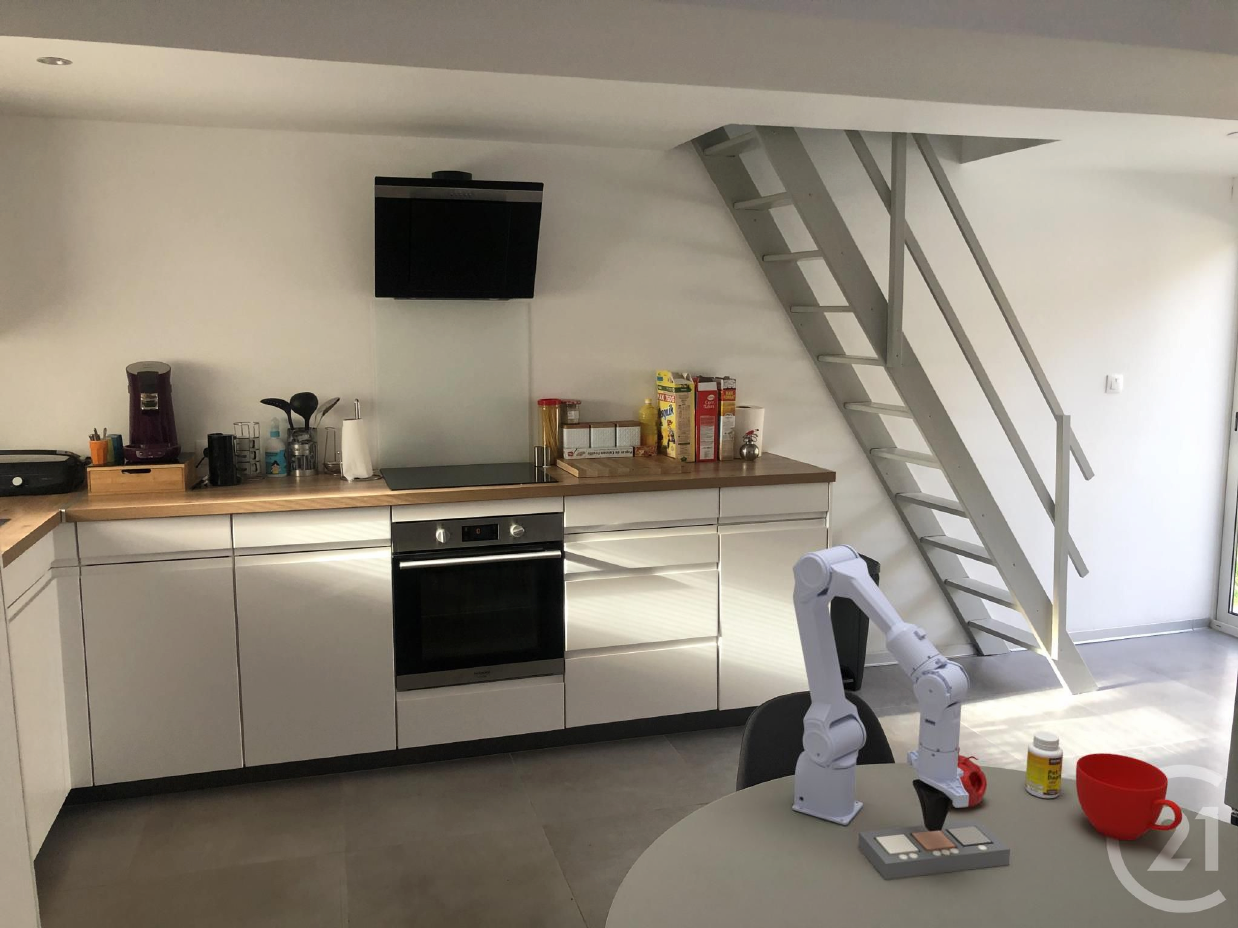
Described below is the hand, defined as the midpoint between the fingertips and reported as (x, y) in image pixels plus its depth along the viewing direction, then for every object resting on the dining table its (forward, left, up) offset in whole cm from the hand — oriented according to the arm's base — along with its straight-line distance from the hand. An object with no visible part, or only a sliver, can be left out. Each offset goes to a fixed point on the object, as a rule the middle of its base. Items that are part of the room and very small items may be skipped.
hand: (933, 828), depth 149 cm
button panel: (0, 0, -4) cm, 4 cm away
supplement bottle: (+10, +31, -5) cm, 33 cm away
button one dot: (+4, +4, -3) cm, 7 cm away
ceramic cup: (+24, +23, -5) cm, 34 cm away
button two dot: (-4, -4, -3) cm, 7 cm away
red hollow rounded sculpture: (-2, +20, -5) cm, 21 cm away
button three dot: (0, 0, -3) cm, 4 cm away
